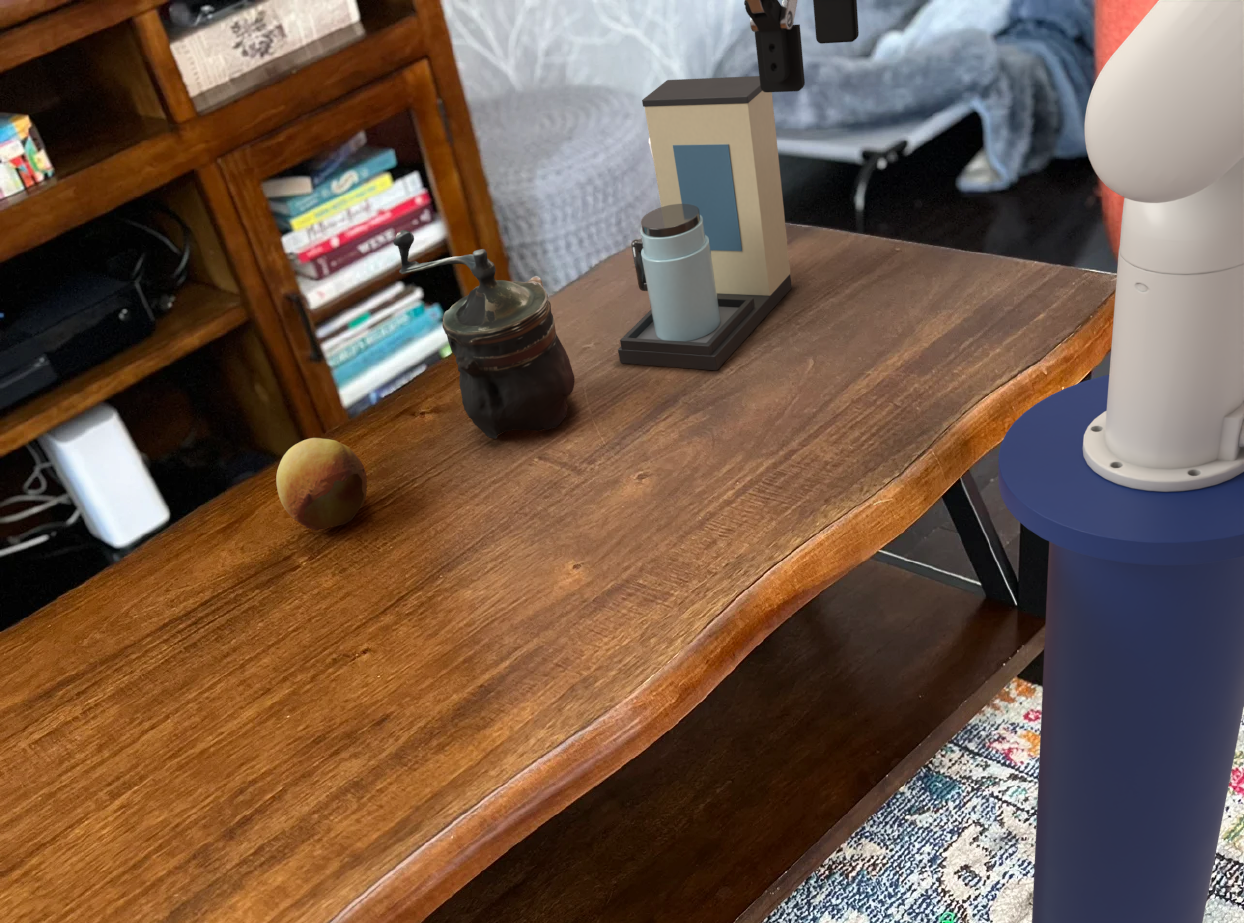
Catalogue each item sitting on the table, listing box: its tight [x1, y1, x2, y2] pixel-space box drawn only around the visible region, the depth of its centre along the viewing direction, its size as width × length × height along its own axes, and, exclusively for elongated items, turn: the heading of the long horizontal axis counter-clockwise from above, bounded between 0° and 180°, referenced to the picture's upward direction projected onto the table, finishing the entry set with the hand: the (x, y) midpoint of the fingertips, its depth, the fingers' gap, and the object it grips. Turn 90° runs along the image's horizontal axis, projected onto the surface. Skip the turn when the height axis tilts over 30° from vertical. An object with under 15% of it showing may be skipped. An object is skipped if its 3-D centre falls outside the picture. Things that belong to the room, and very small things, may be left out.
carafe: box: [630, 204, 721, 341], centre depth 125 cm, size 7×8×11 cm
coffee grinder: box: [392, 229, 576, 439], centre depth 119 cm, size 13×15×18 cm
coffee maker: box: [617, 75, 793, 371], centre depth 124 cm, size 18×11×20 cm, turn 150°
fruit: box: [275, 437, 368, 532], centre depth 115 cm, size 8×8×8 cm
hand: (811, 65), depth 94 cm, fingers open, 9 cm apart
